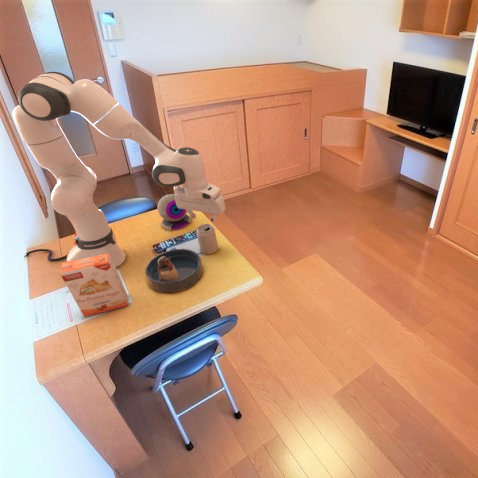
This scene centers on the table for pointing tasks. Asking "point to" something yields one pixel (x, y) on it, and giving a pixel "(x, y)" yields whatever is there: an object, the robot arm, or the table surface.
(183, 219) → the webcam
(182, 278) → the bowl
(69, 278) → the cracker box
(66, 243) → the table surface
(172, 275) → the figurine
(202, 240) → the can
